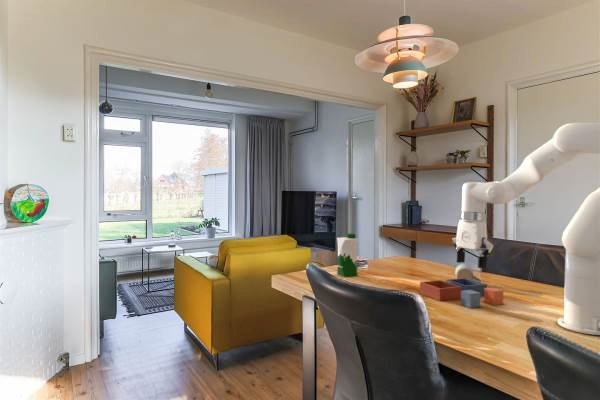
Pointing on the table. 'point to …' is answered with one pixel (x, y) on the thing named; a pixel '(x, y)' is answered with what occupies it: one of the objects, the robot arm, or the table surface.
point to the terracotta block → (493, 296)
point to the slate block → (470, 298)
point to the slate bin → (469, 285)
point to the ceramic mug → (465, 272)
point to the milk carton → (347, 255)
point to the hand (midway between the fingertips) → (470, 264)
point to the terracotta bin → (440, 290)
